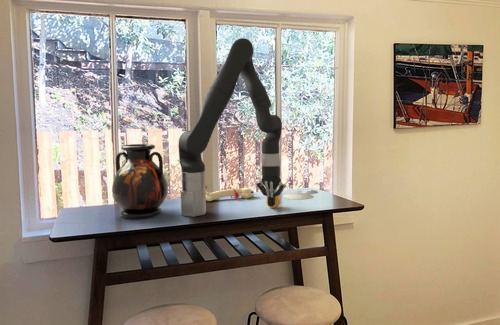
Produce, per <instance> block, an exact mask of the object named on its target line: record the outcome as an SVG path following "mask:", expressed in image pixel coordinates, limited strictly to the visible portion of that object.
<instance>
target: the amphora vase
mask: <svg viewBox="0 0 500 325" xmlns="http://www.w3.org/2000/svg"><path fill="white" fill-rule="evenodd" d="M154 149H156V145H155V144H151V143H135V144H134V143H133V144H131V143H130V144H125V145H122V146H121V150H123V151H119V152H118V153H117V155H116V157H115V168H116V169H115V171H116V172H115V173H116V174H115V175H114V178H113V180H112V181H113V182H112V187H111V194H112V199H113V201H114V202H115V203H116V205H117V206H118V207H119V208H121V210H120V211H119V215H120V216H121V217H122V218H124V219H128V220H146V219H151V218H152V219H153V218H155V217H157V216H160V215H161V214H162V213H163V208H162V207H161V206H162V204H164V202H165V200H166V199H167V197H168V193H169V186H168V181H167V179H166V176H165V173H164V167H163V166H164V161H163V156H162V154H161V153H159V152H158V151H152V150H154ZM151 151H152V153H151ZM122 155H123V157H124V158H125V162H124V163H123V164H122V165H121V162H120V161H121V157H122ZM154 156H157V158H158V165H157V164H156V162H154V160H153V158H154Z"/></svg>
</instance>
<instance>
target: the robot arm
mask: <svg viewBox="0 0 500 325" xmlns="http://www.w3.org/2000/svg"><path fill="white" fill-rule="evenodd" d="M253 57H254V46H253V43H252V42H251V40H249V39H248V38H245V37H240V38H238V39H236V40H235V41H234V42H233V43H232V45H231V47H230V49H229V52H228V54H227V57H226V58H225V62H224V63H223V66H222V67H221V68H220V70H219V72H218V73H217V75H216V77H215V78H214V80H212V83H211V85H210V86H209V88H208V90H207V92H206V94H205V96H204V98H203V102H202V105H201V106H202V107H201V110H200V115H199V118H198V120H197V121H196V124H195V125H194V126H193V128H192V130H185V131H184V132H183V133H181V135H180V137H179V138H178V157H179V158H178V159H179V160H178V161H179V165H180V168H181V192H180V206H181V207H180V208H181V209H180V210H181V216H185V217H192V218H193V217H194V218H195V217H197V216H198V217H199V216H200V217H201V216H204V215H205V214H206V213H207V206H206V205H207V200H206V195H207V194H206V193H205V190H206V189H205V185H206V166H205V163H204V162H203V159H202V155H201V154H203V153H204V151H205V150H206V148H207V147H208V144H209V142H210V139H211V137H212V135H213V132H214V130H215V128H216V126H217V124H218V121H219V120H220V119H221V118H222V117H221V116H222V115H223V113H224V111H225V109H226V108H227V105H228V104H229V102H230V100H231V98H232V96H233V93H234V91H235V88H236V86H237V83H238V79H239V76H241V79H242V80H243V82H244V83H243V84H244V85H245V87H246V90H247V93H248V96H249V98H250V100H251V103H252V105H253V108H254V110H255V111H254V112H255V118H256V124H257V128H259V130H260V131H261V132H263V133H265V138H264V139H263V140H262V141H261V179H260V181H259V182H257V183H256V187H257V188H258V189H259V190H260V192H261V194H262V195H263V196H265V197H266V199H267V200H268V205H269V206H271V207H272V206H274V205H275V197H276V196H279V197H280V195H281V194H282V192H283V191H284V190H285V188H286V187H287V185H286V184H285V183H283V182H282V179H281V158H280V156H281V154H280V140H281V135H282V129H283V122H282V120H281V118H280V116H278V115H277V114H271V112H270V108H271V107H272V102H271V99H270V97H269V94H268V92H267V89H266V86H264V84H263V82H262V81H261V79H260V77H259V76H258V74H257V71H256V69H255V65H254V60H253ZM268 205H267V206H268ZM269 206H268V207H269Z"/></svg>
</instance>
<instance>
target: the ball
mask: <svg viewBox="0 0 500 325" xmlns="http://www.w3.org/2000/svg"><path fill="white" fill-rule="evenodd" d="M265 203H266V206H268V207H269V208H270V209H276V208H278V207H280V206H279V205H280V204H281V198H280V195H279V196H276V197H275V205H274V206H272V207H271V206H269V205H268V200H267V198H266V199H265Z"/></svg>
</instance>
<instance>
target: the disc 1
mask: <svg viewBox="0 0 500 325" xmlns="http://www.w3.org/2000/svg"><path fill="white" fill-rule="evenodd" d="M313 197H314V196H313V194H305V193H298V192H293V193H285V194H283V198H285V199H288V200H308V199H309V200H310V199H312V198H313Z"/></svg>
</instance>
